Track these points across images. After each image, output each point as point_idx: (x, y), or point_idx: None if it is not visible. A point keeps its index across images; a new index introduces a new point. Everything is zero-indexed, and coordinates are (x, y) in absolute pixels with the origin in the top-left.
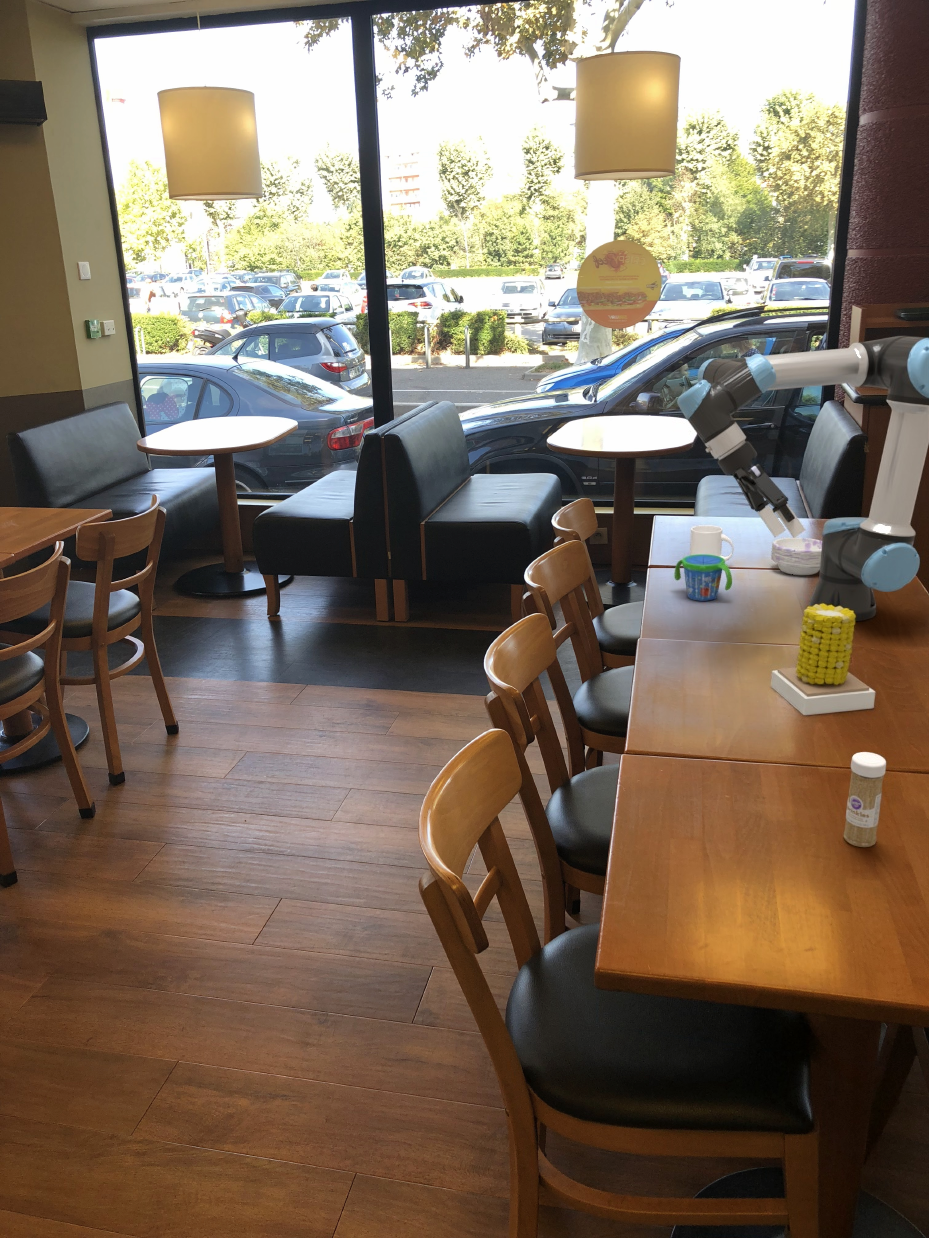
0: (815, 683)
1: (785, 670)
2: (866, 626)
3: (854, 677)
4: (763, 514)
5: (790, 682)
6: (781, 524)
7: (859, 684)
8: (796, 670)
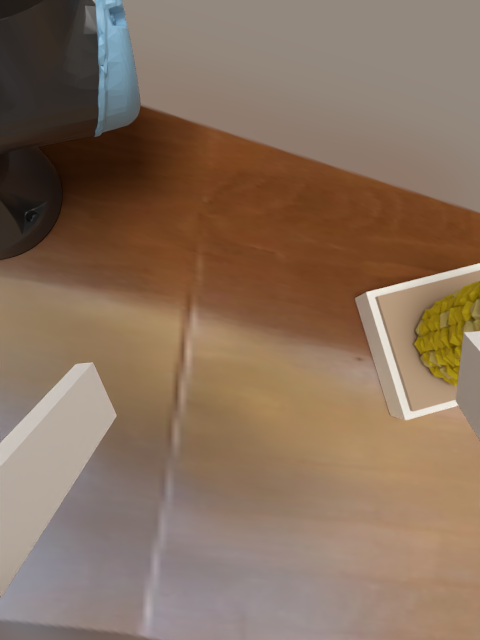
0: None
1: (418, 397)
2: (89, 177)
3: (441, 281)
4: (15, 543)
5: None
6: (69, 391)
7: (472, 281)
8: (456, 385)
